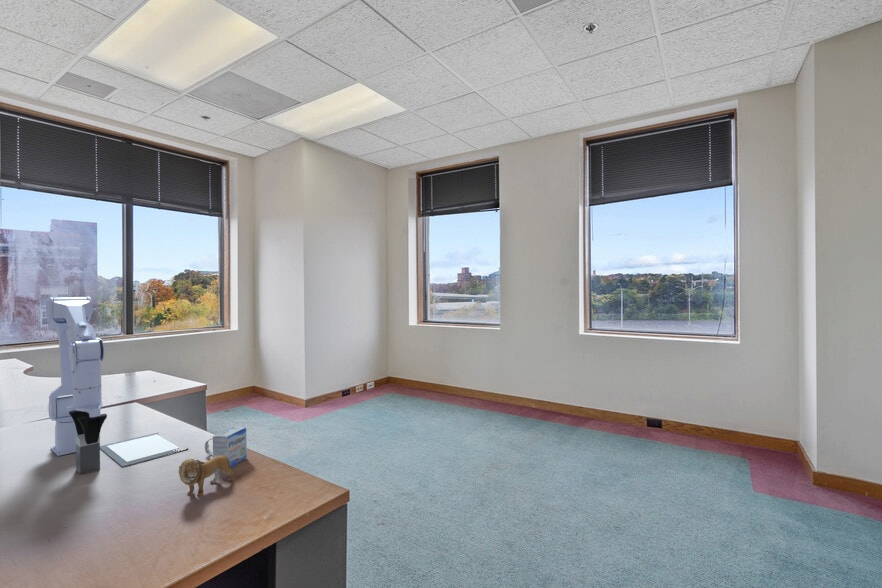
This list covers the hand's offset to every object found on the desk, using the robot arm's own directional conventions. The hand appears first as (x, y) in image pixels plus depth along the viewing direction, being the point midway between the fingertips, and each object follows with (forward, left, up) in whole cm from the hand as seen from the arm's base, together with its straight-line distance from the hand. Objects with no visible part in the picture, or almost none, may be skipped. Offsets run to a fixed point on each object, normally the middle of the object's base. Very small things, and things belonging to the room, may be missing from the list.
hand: (87, 439), depth 111 cm
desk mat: (-6, +14, -8) cm, 17 cm away
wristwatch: (+15, +25, -8) cm, 30 cm away
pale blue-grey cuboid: (0, 0, -8) cm, 8 cm away
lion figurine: (+35, +15, -8) cm, 39 cm away
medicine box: (+24, +25, -8) cm, 36 cm away
